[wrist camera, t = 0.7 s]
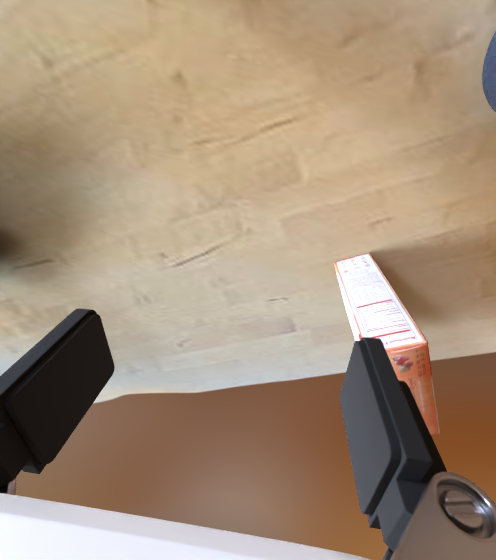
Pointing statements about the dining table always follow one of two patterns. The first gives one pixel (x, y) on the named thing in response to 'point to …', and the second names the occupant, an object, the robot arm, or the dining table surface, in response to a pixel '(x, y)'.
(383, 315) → the cracker box
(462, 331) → the dining table surface
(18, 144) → the dining table surface
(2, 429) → the robot arm
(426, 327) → the dining table surface
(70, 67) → the dining table surface
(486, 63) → the pot
